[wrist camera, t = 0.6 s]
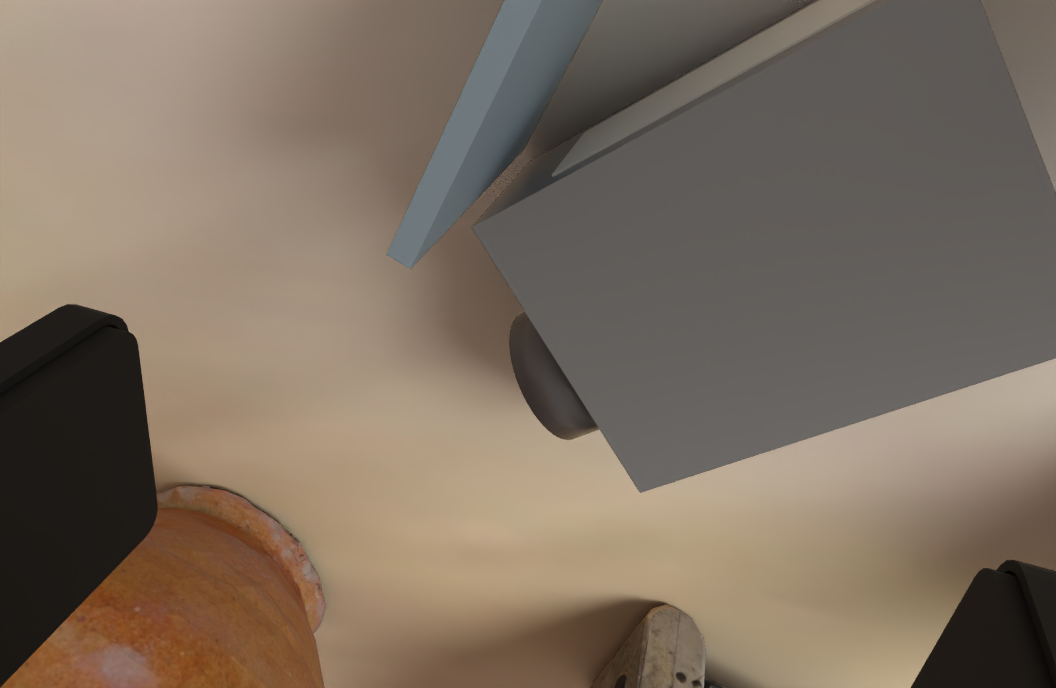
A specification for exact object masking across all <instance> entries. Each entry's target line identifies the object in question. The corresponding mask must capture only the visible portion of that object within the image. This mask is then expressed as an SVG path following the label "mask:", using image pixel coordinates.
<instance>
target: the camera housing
mask: <svg viewBox="0 0 1056 688" xmlns="http://www.w3.org/2000/svg"><path fill="white" fill-rule="evenodd" d="M471 228H472V229H473V231H474V232H475V234H476V235H477V237H478V239H479V240H480V242H481V243H482V245H483V246H484V248H485V250H486V251H487V253H488V254H489V256H490V258H491V259H492V261H493V262H494V264H495V265H496V267H497V269H498V270H499V272H500V273H501V275H502V276H503V278H504V280H505V281H506V283H507V284H508V286H509V287H510V289H511V291H512V292H513V294H514V295H515V297H516V298H517V300H518V302H519V303H520V305H521V306H522V308H523V309H524V311H525V312H524V313H522V314H520V315H519V316H517V317H516V319H515V320H514V322H513V324H512V327H511V330H510V342H509V345H510V355H511V361H512V365H513V369H514V373H515V376H516V379H517V382H518V384H519V387H520V389H521V391H522V394H523V396H524V398H525V400H526V402H527V403H528V405H529V407H530V408H531V410H532V412H533V413H534V414H535V416H536V417H537V419H538V420H539V421H540V422H541V423H542V425H543V426H544V427H545V428H546V429H547V430H548V431H550V432H551V433H552V434H554V435H555V436H557V437H559V438H561V439H565V440H572V439H574V438H577V437H580V436H582V435H585V434H588V433H590V432H593V431H596V430H598V429H600V431H601V432H602V434H603V435H604V437H605V439H606V440H607V442H608V443H609V445H610V446H611V448H612V450H613V451H614V453H615V454H616V456H617V457H618V459H619V461H620V462H621V464H622V465H623V467H624V468H625V470H626V472H627V473H628V475H629V476H630V478H631V479H632V481H633V483H634V484H635V486H636V487H637V489H638V490H639V492H640V493H641V492H644V491H647V490H650V489H653V488H656V487H660V486H663V485H666V484H669V483H672V482H675V481H678V480H681V479H684V478H687V477H690V476H694V475H697V474H700V473H703V472H706V471H709V470H712V469H715V468H718V467H721V466H724V465H727V464H731V463H734V462H737V461H740V460H743V459H746V458H749V457H752V456H755V455H758V454H761V453H765V452H768V451H771V450H774V449H777V448H780V447H783V446H786V445H789V444H792V443H795V442H798V441H802V440H805V439H808V438H811V437H814V436H817V435H820V434H823V433H826V432H829V431H832V430H835V429H839V428H842V427H845V426H848V425H851V424H854V423H857V422H860V421H863V420H866V419H869V418H873V417H876V416H879V415H882V414H885V413H888V412H891V411H894V410H897V409H900V408H903V407H906V406H910V405H913V404H916V403H919V402H922V401H925V400H928V399H931V398H934V397H937V396H940V395H943V394H947V393H950V392H953V391H956V390H959V389H962V388H965V387H968V386H971V385H974V384H977V383H981V382H984V381H987V380H990V379H993V378H996V377H999V376H1002V375H1005V374H1008V373H1011V372H1014V371H1018V370H1021V369H1024V368H1027V367H1030V366H1033V365H1036V364H1039V363H1042V362H1045V361H1048V360H1052V359H1055V358H1056V193H1055V190H1054V188H1053V185H1052V183H1051V180H1050V177H1049V175H1048V172H1047V170H1046V167H1045V165H1044V162H1043V159H1042V157H1041V154H1040V152H1039V149H1038V147H1037V144H1036V142H1035V139H1034V136H1033V134H1032V131H1031V129H1030V126H1029V124H1028V121H1027V118H1026V116H1025V113H1024V111H1023V108H1022V106H1021V103H1020V101H1019V98H1018V95H1017V93H1016V90H1015V88H1014V85H1013V83H1012V80H1011V77H1010V75H1009V72H1008V70H1007V67H1006V65H1005V62H1004V59H1003V57H1002V54H1001V52H1000V49H999V47H998V44H997V42H996V39H995V36H994V34H993V31H992V29H991V26H990V24H989V21H988V18H987V16H986V13H985V11H984V8H983V6H982V3H981V0H815V1H813V2H811V3H810V4H808V5H806V6H804V7H802V8H801V9H799V10H797V11H795V12H794V13H792V14H790V15H788V16H786V17H785V18H783V19H781V20H779V21H778V22H776V23H774V24H772V25H771V26H769V27H767V28H765V29H763V30H762V31H760V32H758V33H756V34H755V35H753V36H751V37H749V38H747V39H746V40H744V41H742V42H740V43H739V44H737V45H735V46H733V47H732V48H730V49H728V50H726V51H724V52H723V53H721V54H719V55H717V56H716V57H714V58H712V59H710V60H708V61H707V62H705V63H703V64H701V65H700V66H698V67H696V68H694V69H693V70H691V71H689V72H687V73H685V74H684V75H682V76H680V77H678V78H677V79H675V80H673V81H671V82H669V83H668V84H666V85H664V86H662V87H661V88H659V89H657V90H655V91H654V92H652V93H650V94H648V95H646V96H645V97H643V98H641V99H639V100H638V101H636V102H634V103H632V104H630V105H629V106H627V107H625V108H623V109H622V110H620V111H618V112H616V113H615V114H613V115H611V116H609V117H607V118H606V119H604V120H602V121H600V122H599V123H597V124H595V125H593V126H591V127H590V128H588V129H586V130H584V131H583V132H581V133H579V134H577V135H575V136H574V137H572V138H570V139H568V140H567V141H565V142H563V143H561V144H560V145H558V146H556V147H554V148H552V149H551V150H549V151H547V152H545V153H544V154H542V155H540V156H538V157H536V158H535V159H533V160H531V161H530V162H529V163H528V164H527V165H526V167H525V168H524V169H523V170H522V171H521V172H520V173H519V174H518V176H517V177H516V178H515V179H514V180H513V181H512V182H511V183H510V185H509V186H508V187H507V188H506V189H505V190H504V191H503V192H502V194H501V195H500V196H499V197H498V198H497V199H496V200H495V202H494V203H493V204H492V205H491V206H490V207H489V208H488V209H487V211H486V212H485V213H484V214H483V215H482V216H481V217H480V218H479V220H478V221H477V222H476V223H475V224H474V225H473V226H472V227H471Z"/></svg>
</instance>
